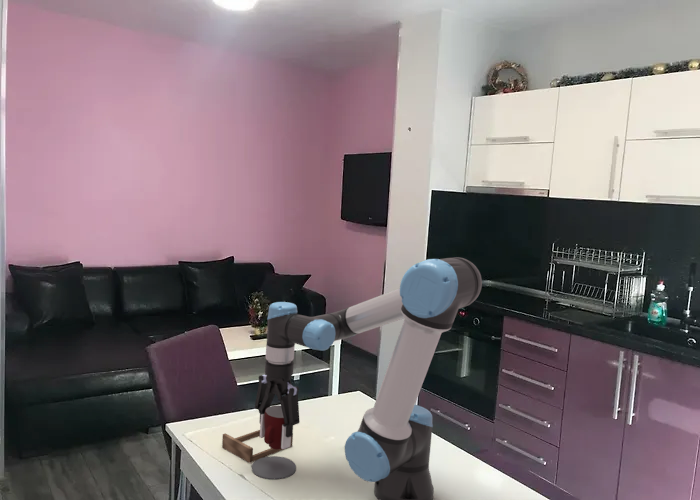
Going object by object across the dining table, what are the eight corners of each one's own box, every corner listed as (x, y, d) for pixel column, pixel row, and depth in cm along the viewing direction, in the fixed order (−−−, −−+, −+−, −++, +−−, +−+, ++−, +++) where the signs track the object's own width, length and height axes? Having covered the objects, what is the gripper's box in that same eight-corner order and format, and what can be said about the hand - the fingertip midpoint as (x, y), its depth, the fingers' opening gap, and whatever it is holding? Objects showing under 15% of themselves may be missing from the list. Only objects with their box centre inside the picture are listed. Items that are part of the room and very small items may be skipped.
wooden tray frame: (292, 446, 170) (292, 433, 170) (249, 463, 158) (250, 449, 158) (264, 432, 178) (265, 420, 178) (222, 447, 166) (222, 434, 166)
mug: (281, 460, 149) (285, 424, 148) (253, 453, 151) (256, 417, 150) (295, 442, 159) (298, 409, 158) (268, 436, 161) (271, 403, 160)
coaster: (305, 469, 156) (305, 467, 156) (271, 484, 147) (271, 482, 147) (275, 454, 164) (276, 452, 164) (242, 467, 155) (242, 465, 155)
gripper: (317, 367, 149) (311, 451, 151) (265, 348, 163) (260, 425, 165) (296, 373, 143) (290, 459, 146) (243, 353, 157) (239, 432, 159)
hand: (274, 441), depth 155 cm, fingers closed on mug, 8 cm apart
